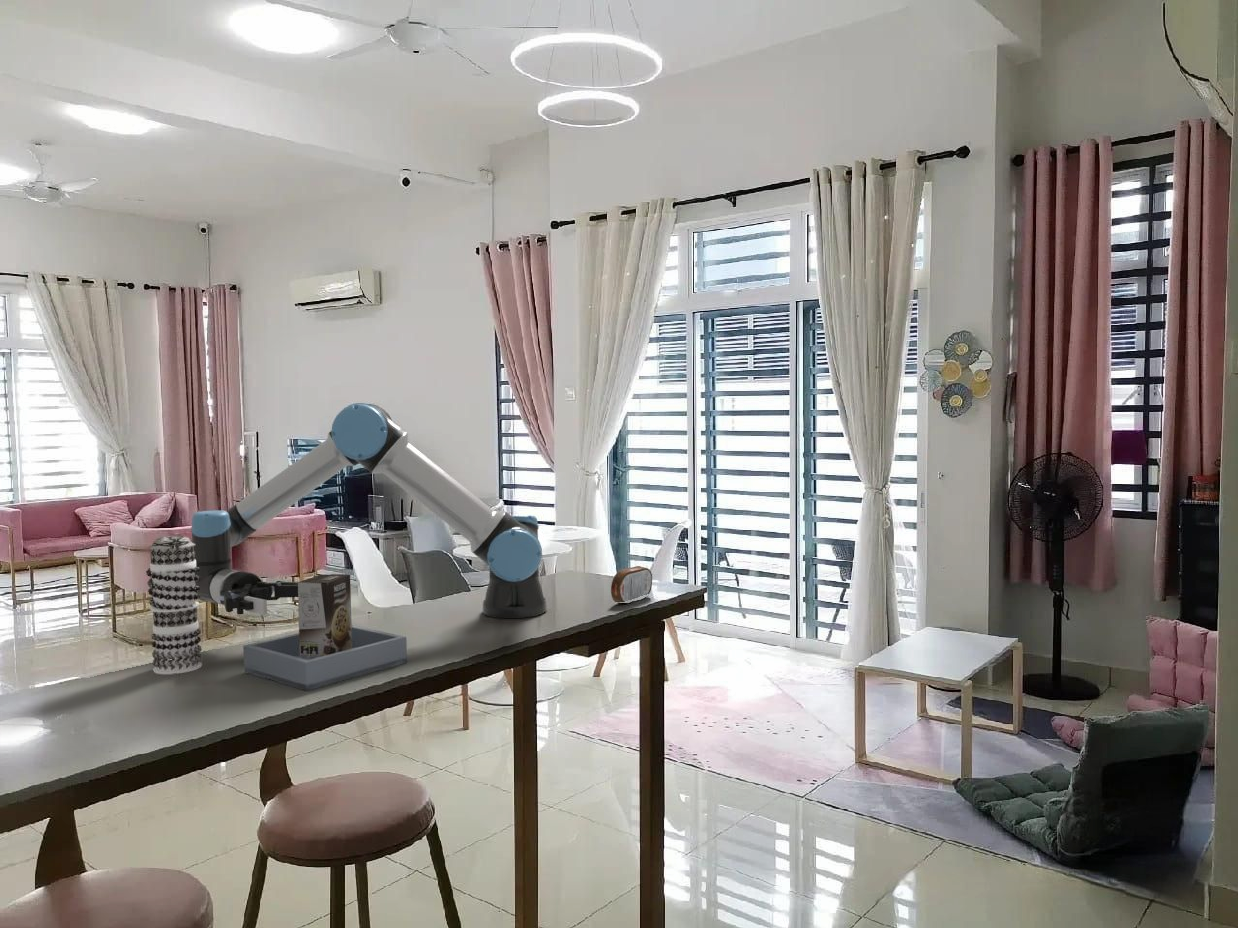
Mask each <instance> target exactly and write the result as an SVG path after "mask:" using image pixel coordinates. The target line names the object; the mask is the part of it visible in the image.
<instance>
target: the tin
mask: <svg viewBox="0 0 1238 928" xmlns="http://www.w3.org/2000/svg"><path fill="white" fill-rule="evenodd" d="M652 585H653V574H652V571H651V570H650V569H649V568H648V567H645V566H644V567H643V566H641V565H636V566H632V567H629V568H623V569H620V570H619V571H617V572H616V574H615V575H614V577H613V579H612V581H611V584H610V593H611V597H612V600H613V601H614V602H615V603H616V602H625V601H628V600H632V599H635V598H638V597H640V596H643V595H647V594H649V595H650V594H651V591H652Z"/></svg>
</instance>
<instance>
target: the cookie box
mask: <svg viewBox="0 0 1238 928" xmlns="http://www.w3.org/2000/svg"><path fill="white" fill-rule="evenodd" d="M297 582H298V597H297V600H298V601H297V603H298V604H297V605H298V606H297V607H298V633H299V648H300V658H302V659H306V660H310V659H314V658H318V657H322V656H326V655H330V654H334V653H338V652H342V651H346V650H349V649H352V624H353V623H352V594H351V593H352V592H351V591H352V590H351V589H352V588H351V574H348V573H347V574H346V573H341V574H339V573H338V574H337V573H335V574H333V573H331V574H330V573H329V574H321V573H320V574H319V575H316V576H312V577H310V578H307V579H304V580H300V581H297Z"/></svg>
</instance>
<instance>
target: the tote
mask: <svg viewBox="0 0 1238 928" xmlns="http://www.w3.org/2000/svg"><path fill="white" fill-rule="evenodd" d="M407 642H408V641H407V636H404V635H401V634H400V635H399V634H394V633H391V632H385V631H381V630H376V629H372V628H368V627H367V628H366V627H362V626H357V625H354V624H353V625H352V649H349V650H346V651H342V652H338V653H334V654H330V655H326V656H322V657H318V658H314V659H310V660H306V659H302V658H300V648H299V632H298V633H294V634H289V635H284V636H280V637H275V638H271V639H267V640H262V641H258V642H254V643H249V644H244V645H242V646H243V647H242V648H243V672H244V673H246V672H247V673H246V674H249V675H252V674H253V676H256V677H259V678H262V679H266V678H268V679H267V680H269V679H271V680H270V681H272V680H275V681H278V682H277V683H279V682H281V683H280V684H282V683H284V684H283V685H285V684H287V686H289V687H291V688H292V687H293V688H295V687H296V689H299V690H303V691H304V692H305V691H306V692H308V691H313V690H315V689H318V688H319V689H320V688H323V687H326V686H330V685H333V684H336V682H337V683H340V682H344V681H347V680H351V679H354V678H357V677H361V676H364V675H368V674H371V673H375V672H378V671H381V670H386V669H389V668H392V667H393V668H394V667H396V666H397V667H398V666H401V665H403V664H407V663H408V652H407V651H408V648H407V646H408V645H407V644H408V643H407ZM350 678H351V679H350ZM343 680H344V681H343ZM275 681H274V682H275Z"/></svg>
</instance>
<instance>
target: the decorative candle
mask: <svg viewBox="0 0 1238 928" xmlns="http://www.w3.org/2000/svg"><path fill="white" fill-rule="evenodd" d="M194 545H196V544H194V543H192V539H190V538H189V537H188V536H183V535H181V536H180V535H178V536H177V535H175V536H173V535H172V536H163V537H158V538H156V539H155V540H154V541H153V543H152V545H150V546H148V547H147V548H148V549H150V550H149V551H150V554H149V555H150V563H149V568H148V569H147V570H146V571H145V574H146V576H147V577H150V578H149V579H148V581H147V582H146V584H147V585H148V587H149V589H147V592H148V595H149V596H151V597H150V599H149V601H148V602H149V605H150V606H151V607H150V608H149V611H152V613H153V616H152V619H153V620H152V621H153V624H152V634H151V639H152V640H154V641H153V642H152V643H151V647H152V648H154V650H153V651H152V652H151V655H152V658H153V660H152V665H153V667H154V668H153V669H152V671H154V672H155V673H154V672H153V673H154V674H156V675H174V674H173V673H177V674H176V675H178V674H179V673H180V674H185V673H190V672H193V671H196V670H198V669H201V667H202V666H203V663H202V662H201V660H202V659H203V656H202V653H201V652H202V650H203V649H202V646H201V645H199V643H200V642H201V641H202V637H200V636H199V635H200V634H201V633H202V632H201V631H202V630H201V629H200V628H199V627H200V623H199V620H198V607H199V606H200V602H199V601H197V600H199V599H198V598H200V595H198V594H197V593H196V592H197V591H198V590H200V587H199V586H197V585H195V581H198V580H199V579H200V576H198V575H195V573H196V572H197V573H198V572H199V571H200V568H198V567H196V560H195V550H194ZM175 658H176V659H175ZM170 659H172V660H170Z"/></svg>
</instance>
